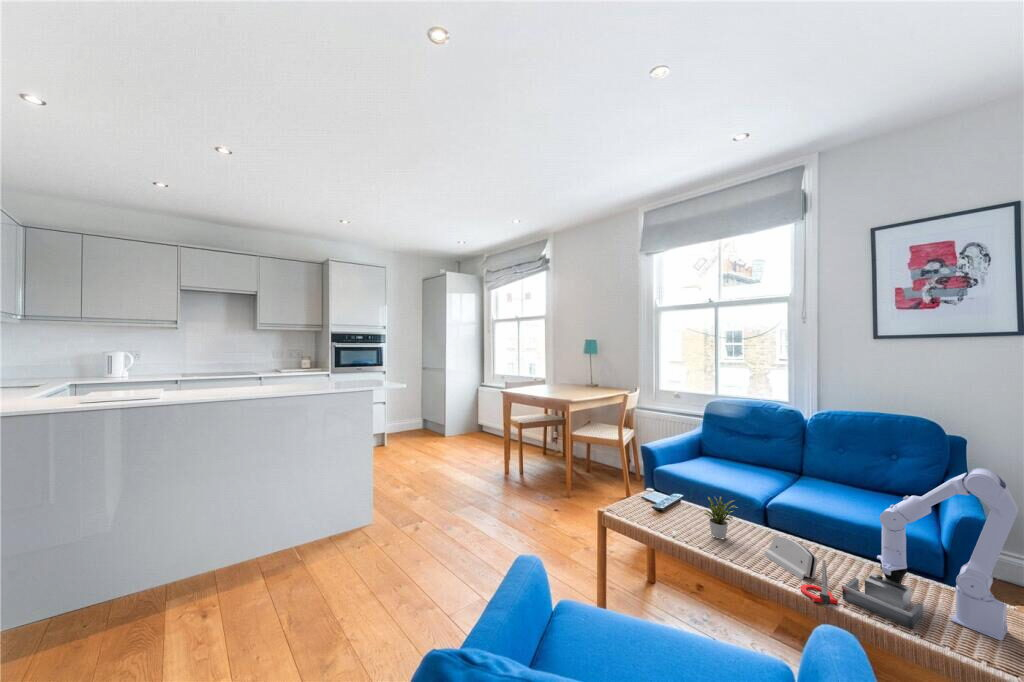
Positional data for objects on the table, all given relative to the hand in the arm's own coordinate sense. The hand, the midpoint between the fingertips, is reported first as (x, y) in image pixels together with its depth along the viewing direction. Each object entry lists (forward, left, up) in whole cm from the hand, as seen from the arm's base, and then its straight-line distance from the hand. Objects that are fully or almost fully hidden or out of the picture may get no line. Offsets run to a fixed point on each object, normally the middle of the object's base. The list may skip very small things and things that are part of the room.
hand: (893, 590), depth 129 cm
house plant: (+51, +9, -2) cm, 52 cm away
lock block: (0, +5, -1) cm, 5 cm away
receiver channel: (0, +11, -1) cm, 11 cm away
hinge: (+25, +9, -2) cm, 27 cm away
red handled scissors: (+13, +21, -2) cm, 25 cm away
